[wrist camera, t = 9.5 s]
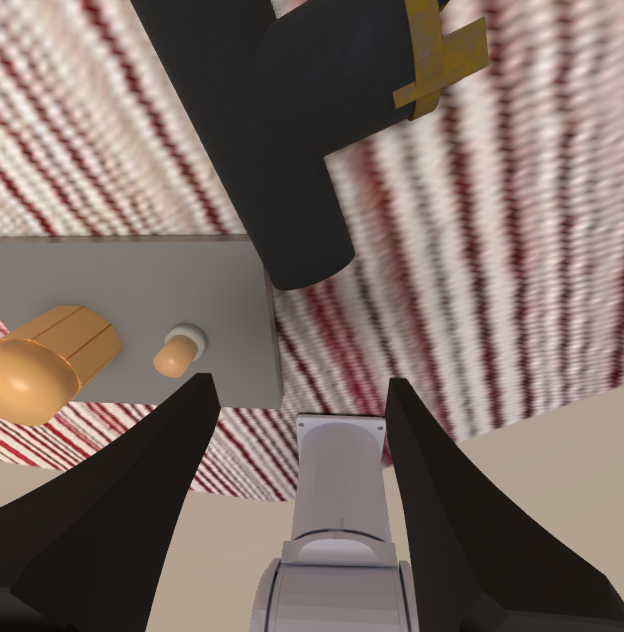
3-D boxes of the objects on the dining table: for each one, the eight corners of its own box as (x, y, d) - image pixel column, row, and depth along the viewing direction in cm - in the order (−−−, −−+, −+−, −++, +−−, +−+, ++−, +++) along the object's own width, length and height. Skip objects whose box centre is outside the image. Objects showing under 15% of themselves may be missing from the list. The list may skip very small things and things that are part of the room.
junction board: (283, 395, 25) (273, 441, 21) (69, 388, 27) (24, 429, 23) (265, 234, 18) (245, 258, 14) (-25, 237, 20) (-114, 260, 16)
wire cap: (129, 362, 22) (68, 427, 17) (69, 361, 23) (-8, 424, 18) (103, 305, 20) (22, 362, 15) (36, 305, 20) (-65, 360, 15)
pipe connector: (452, -578, 5) (508, 221, 12) (401, -243, 10) (463, 199, 16) (30, -135, 8) (264, 301, 15) (140, -38, 13) (282, 264, 20)
